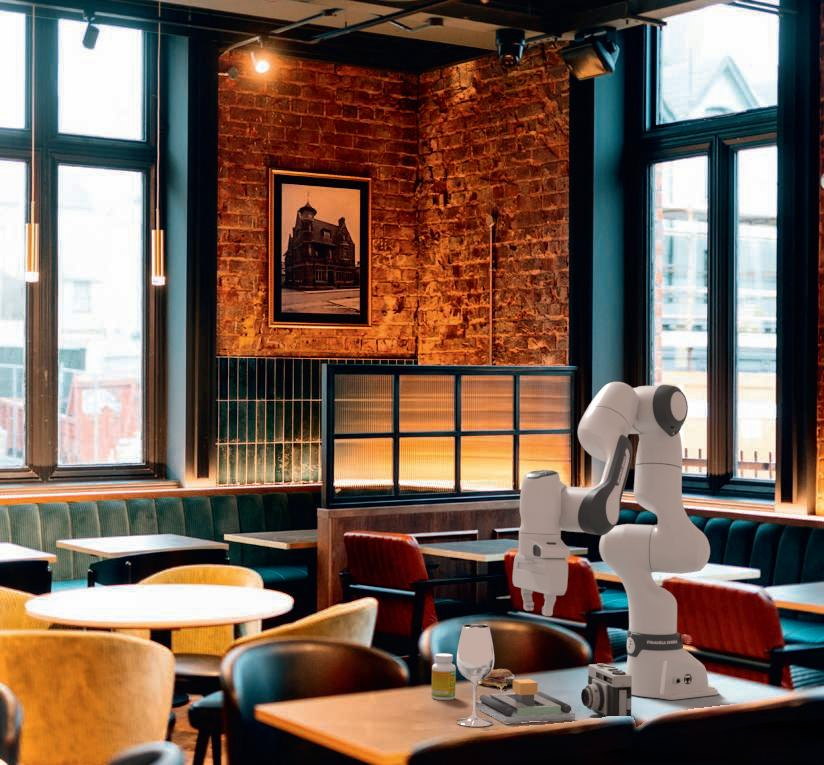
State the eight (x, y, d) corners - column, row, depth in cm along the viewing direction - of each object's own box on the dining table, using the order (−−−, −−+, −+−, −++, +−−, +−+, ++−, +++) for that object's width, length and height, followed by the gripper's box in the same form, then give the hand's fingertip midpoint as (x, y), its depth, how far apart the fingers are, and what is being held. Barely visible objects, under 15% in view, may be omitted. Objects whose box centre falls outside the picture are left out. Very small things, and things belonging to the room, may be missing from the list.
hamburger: (458, 688, 312) (458, 662, 313) (493, 680, 323) (493, 655, 323) (506, 696, 303) (506, 670, 304) (540, 687, 314) (541, 662, 314)
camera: (570, 708, 290) (571, 662, 290) (605, 706, 292) (605, 661, 293) (597, 722, 277) (597, 674, 277) (633, 720, 279) (633, 673, 279)
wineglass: (453, 718, 277) (455, 623, 277) (490, 718, 277) (491, 623, 278) (457, 727, 269) (459, 628, 270) (495, 727, 270) (497, 629, 270)
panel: (542, 704, 293) (542, 690, 293) (575, 720, 278) (575, 705, 278) (475, 708, 288) (476, 694, 288) (505, 724, 273) (505, 709, 273)
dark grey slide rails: (541, 698, 293) (541, 690, 293) (572, 712, 278) (572, 705, 278) (478, 701, 288) (478, 694, 288) (507, 716, 273) (507, 709, 273)
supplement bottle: (453, 701, 295) (453, 657, 295) (429, 699, 296) (430, 656, 296) (457, 696, 300) (457, 653, 300) (433, 695, 301) (434, 652, 301)
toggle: (529, 703, 285) (529, 679, 286) (537, 707, 282) (537, 682, 282) (512, 704, 284) (512, 679, 284) (520, 708, 280) (520, 683, 280)
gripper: (506, 543, 288) (504, 607, 287) (546, 550, 269) (544, 618, 268) (532, 543, 290) (531, 607, 289) (574, 550, 271) (572, 618, 270)
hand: (537, 612), depth 278 cm, fingers open, 8 cm apart
